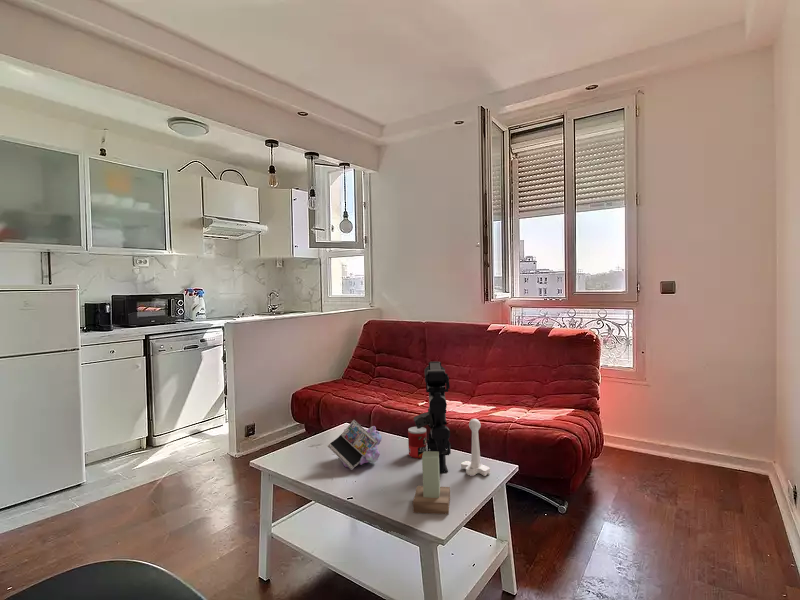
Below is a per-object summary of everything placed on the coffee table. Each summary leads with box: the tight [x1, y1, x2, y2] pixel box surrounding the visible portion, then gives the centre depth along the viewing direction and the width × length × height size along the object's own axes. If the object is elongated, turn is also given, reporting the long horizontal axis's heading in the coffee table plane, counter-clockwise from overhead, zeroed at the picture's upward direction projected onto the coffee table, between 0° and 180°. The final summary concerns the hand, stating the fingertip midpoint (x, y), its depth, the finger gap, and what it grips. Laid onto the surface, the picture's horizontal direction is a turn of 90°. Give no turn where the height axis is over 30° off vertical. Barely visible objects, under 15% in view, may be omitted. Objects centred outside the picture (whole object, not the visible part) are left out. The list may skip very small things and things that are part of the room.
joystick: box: [460, 418, 491, 477], centre depth 162 cm, size 11×8×20 cm
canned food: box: [407, 426, 428, 459], centre depth 181 cm, size 8×8×11 cm
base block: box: [412, 485, 451, 515], centre depth 138 cm, size 11×11×4 cm
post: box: [421, 451, 441, 498], centre depth 138 cm, size 5×5×13 cm
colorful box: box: [326, 419, 382, 471], centre depth 176 cm, size 20×22×18 cm
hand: (438, 449), depth 151 cm, fingers open, 9 cm apart
